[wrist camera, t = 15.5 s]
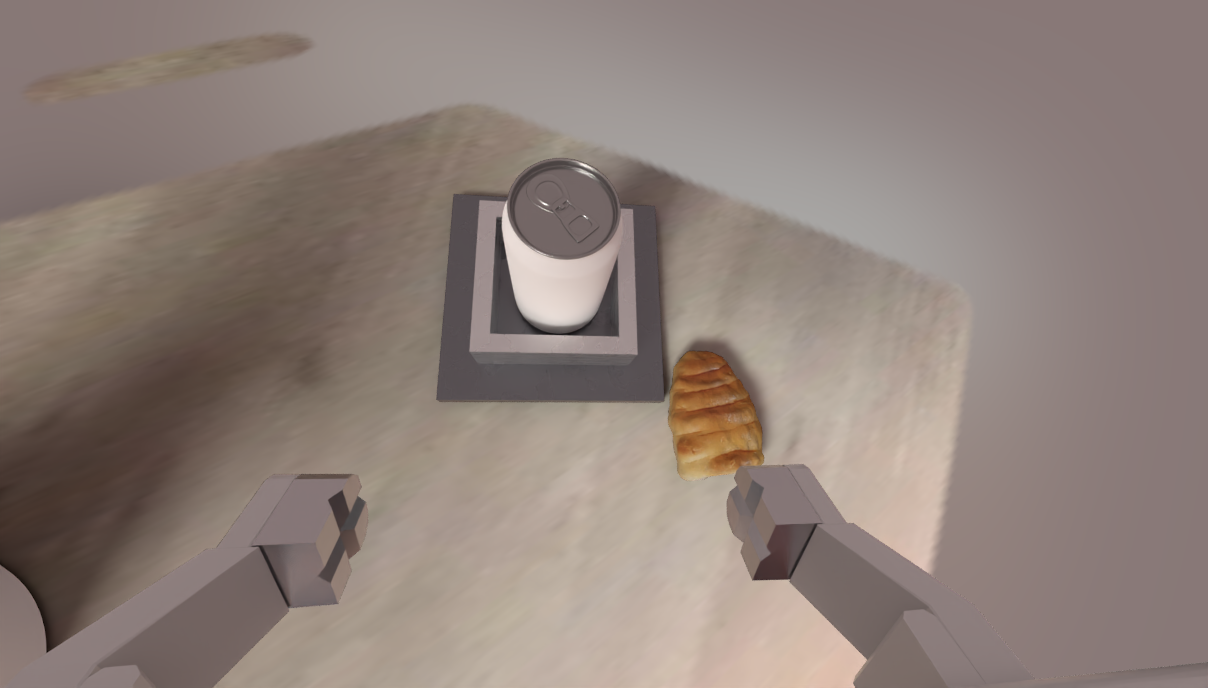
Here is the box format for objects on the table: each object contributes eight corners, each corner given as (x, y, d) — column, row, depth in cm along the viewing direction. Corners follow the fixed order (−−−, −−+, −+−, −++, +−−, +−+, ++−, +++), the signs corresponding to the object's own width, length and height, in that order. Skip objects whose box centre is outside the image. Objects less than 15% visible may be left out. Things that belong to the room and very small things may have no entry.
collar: (439, 401, 31) (422, 392, 27) (456, 201, 35) (443, 165, 31) (660, 402, 33) (678, 394, 29) (652, 212, 37) (666, 180, 33)
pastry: (649, 361, 34) (662, 349, 30) (730, 348, 35) (751, 335, 32) (676, 486, 32) (694, 489, 28) (761, 468, 33) (788, 469, 30)
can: (561, 239, 34) (569, 128, 23) (618, 298, 34) (655, 214, 22) (496, 290, 33) (469, 197, 21) (555, 353, 32) (560, 293, 21)
